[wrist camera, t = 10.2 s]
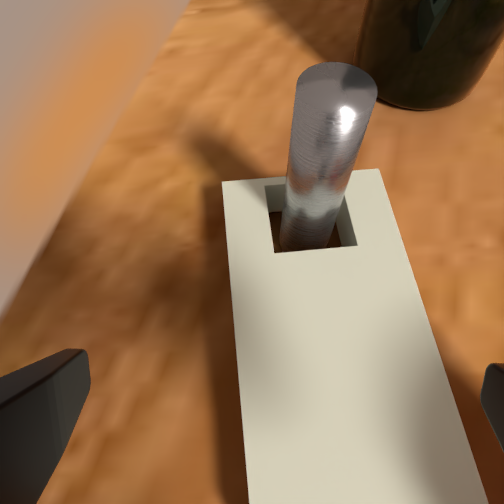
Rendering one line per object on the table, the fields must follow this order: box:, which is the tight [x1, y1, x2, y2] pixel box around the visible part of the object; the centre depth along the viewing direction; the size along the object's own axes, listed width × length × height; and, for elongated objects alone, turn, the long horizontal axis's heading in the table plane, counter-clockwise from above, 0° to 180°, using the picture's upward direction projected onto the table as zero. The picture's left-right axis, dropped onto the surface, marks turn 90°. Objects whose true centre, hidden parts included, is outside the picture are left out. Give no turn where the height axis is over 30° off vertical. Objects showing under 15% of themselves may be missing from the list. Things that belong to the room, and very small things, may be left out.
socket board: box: [222, 169, 489, 504], centre depth 22 cm, size 19×10×3 cm, turn 6°
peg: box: [279, 62, 377, 252], centre depth 21 cm, size 3×3×12 cm
